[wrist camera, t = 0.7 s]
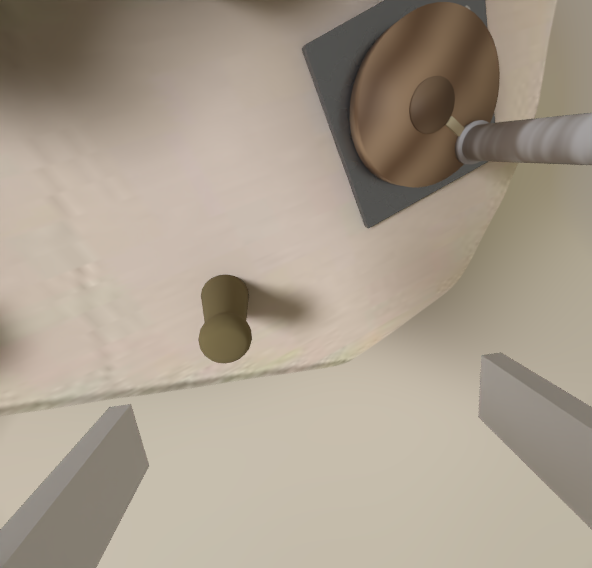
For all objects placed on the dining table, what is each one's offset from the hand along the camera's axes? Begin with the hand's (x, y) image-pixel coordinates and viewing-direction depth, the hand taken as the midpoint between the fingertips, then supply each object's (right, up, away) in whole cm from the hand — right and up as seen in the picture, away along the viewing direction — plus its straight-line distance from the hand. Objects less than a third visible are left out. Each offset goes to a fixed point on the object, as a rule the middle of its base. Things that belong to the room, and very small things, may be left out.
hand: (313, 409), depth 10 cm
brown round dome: (+13, +24, +20) cm, 34 cm away
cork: (-10, +3, +26) cm, 28 cm away
